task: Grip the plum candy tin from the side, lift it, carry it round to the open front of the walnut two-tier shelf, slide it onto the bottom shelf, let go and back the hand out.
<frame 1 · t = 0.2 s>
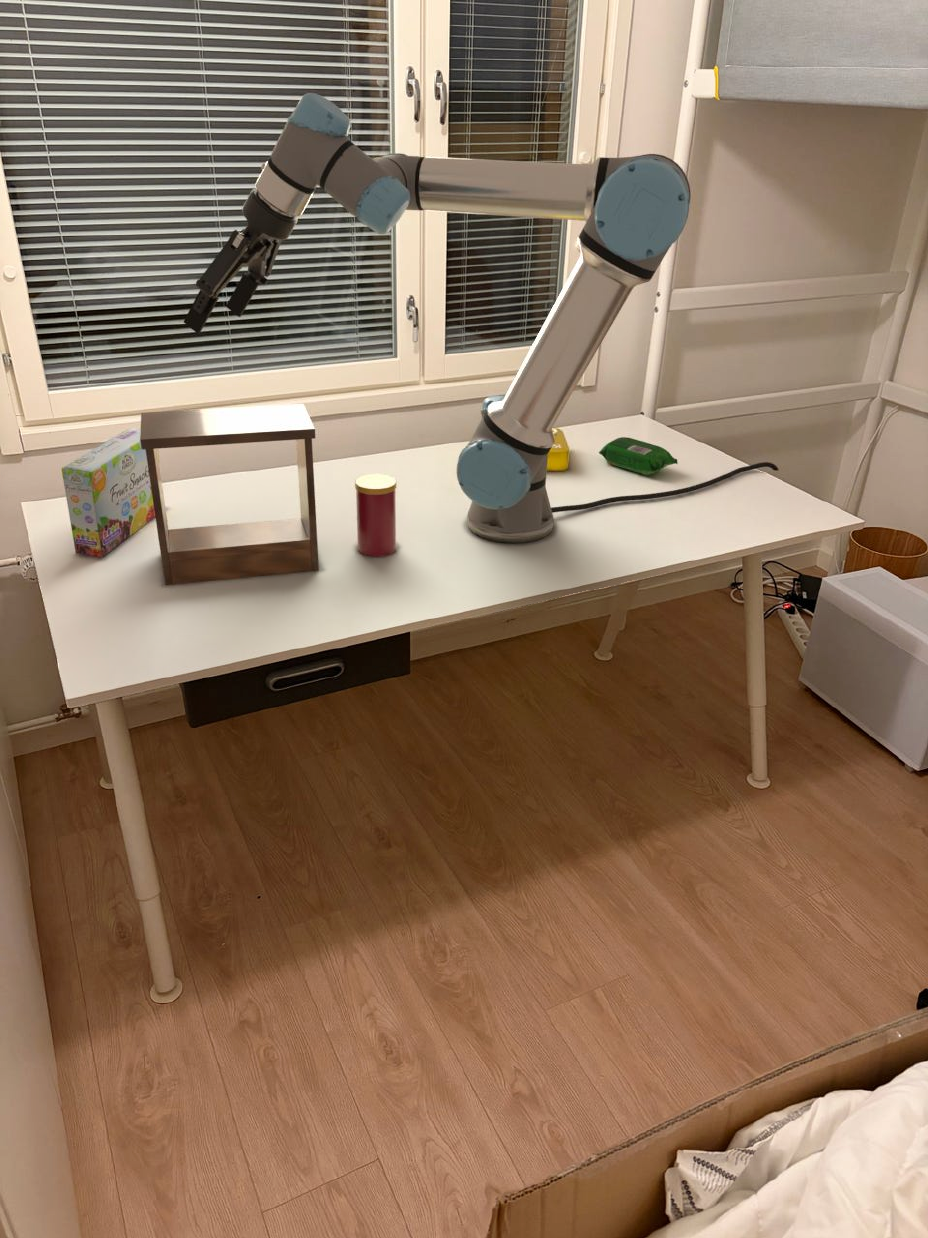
hand: (213, 319, 148), 35 cm above the table, tool tilted 35°, fingers open, 13 cm apart
shelf: (240, 561, 152), on the table
snack box: (123, 532, 161), on the table
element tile: (529, 459, 198), on the table
candy tin: (376, 548, 158), on the table
snack package: (636, 469, 195), on the table
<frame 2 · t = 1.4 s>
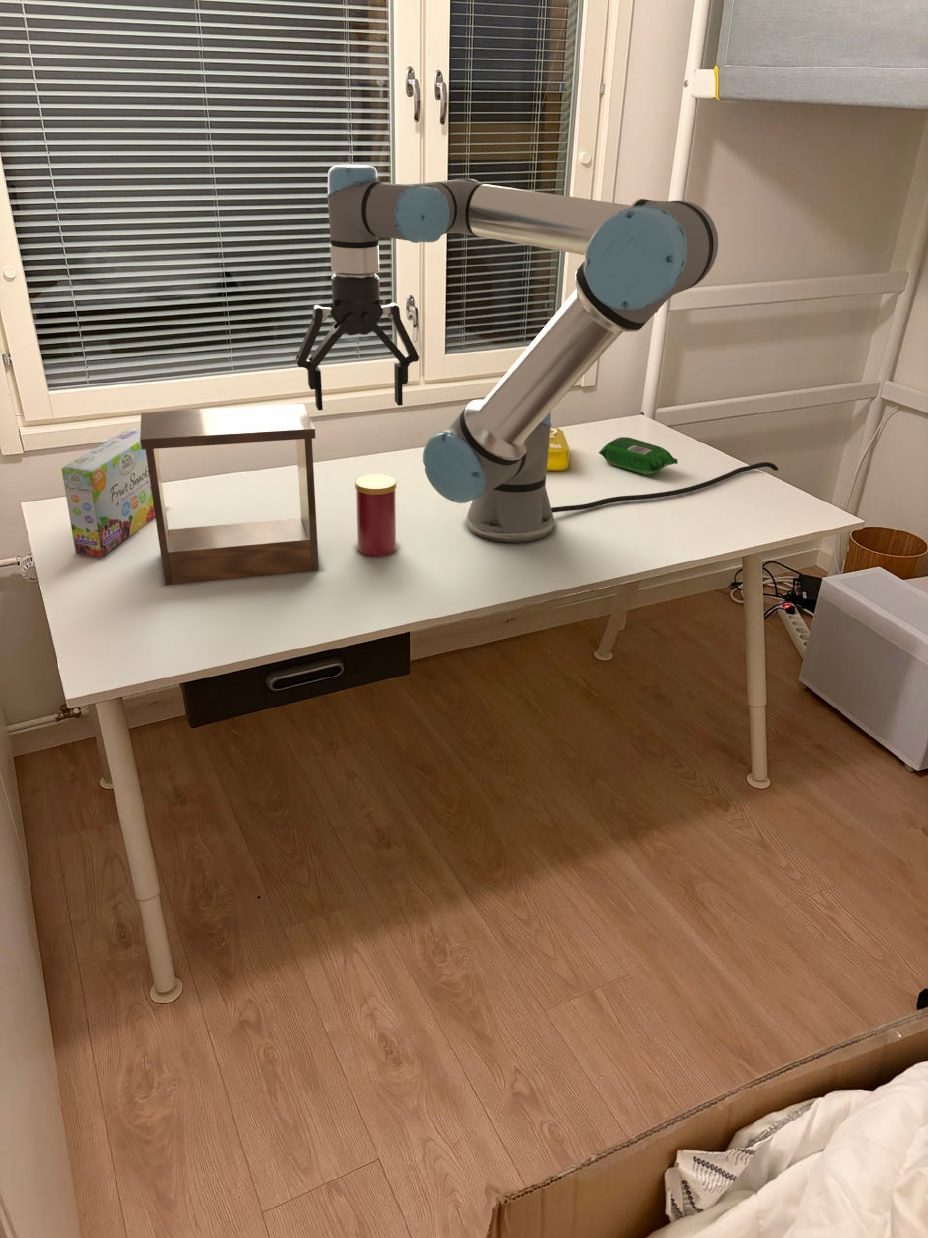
hand: (359, 405, 158), 21 cm above the table, tool pointing down, fingers open, 13 cm apart
nothing on the table moved.
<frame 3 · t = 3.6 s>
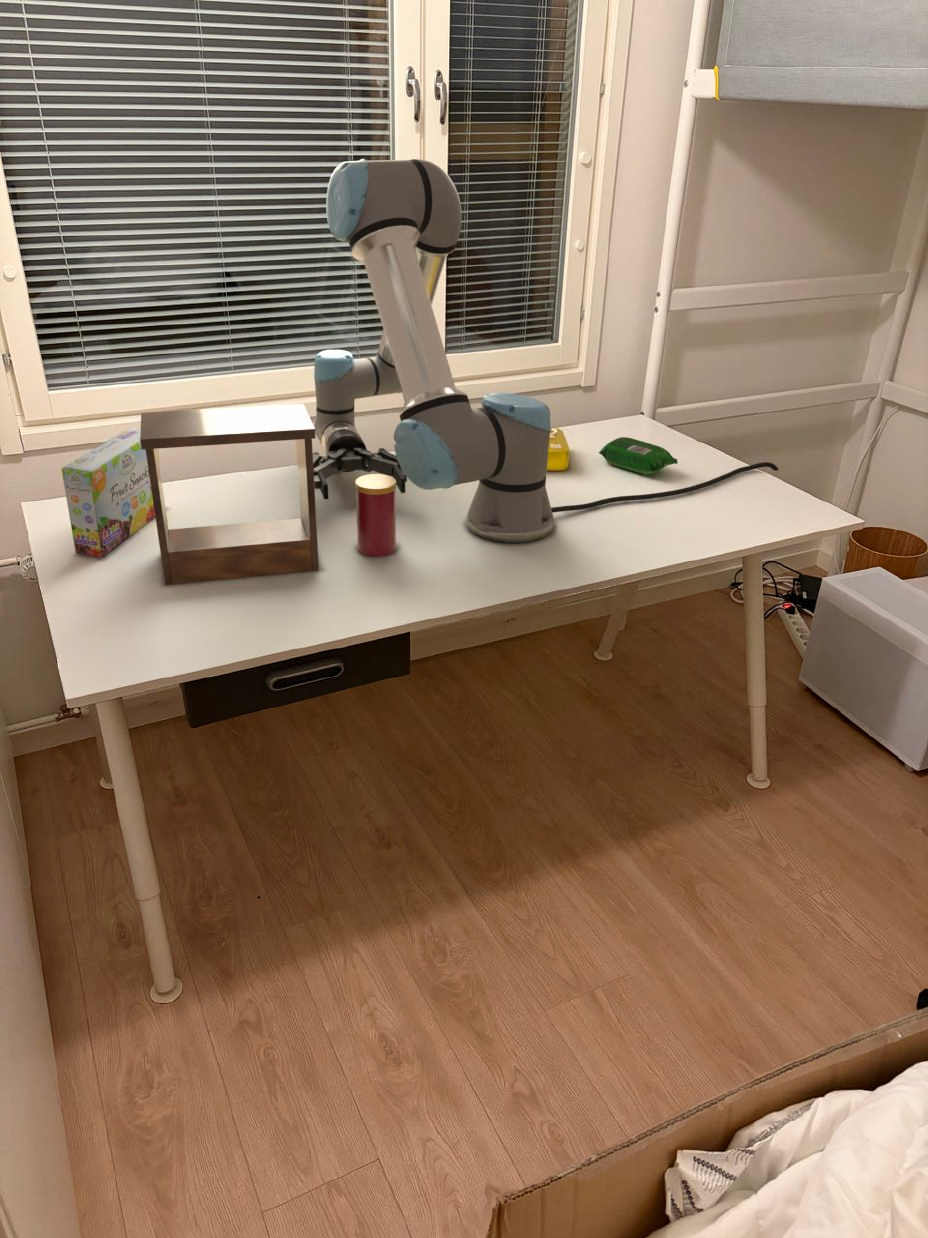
hand: (365, 488, 163), 7 cm above the table, tool horizontal, fingers open, 13 cm apart
nothing on the table moved.
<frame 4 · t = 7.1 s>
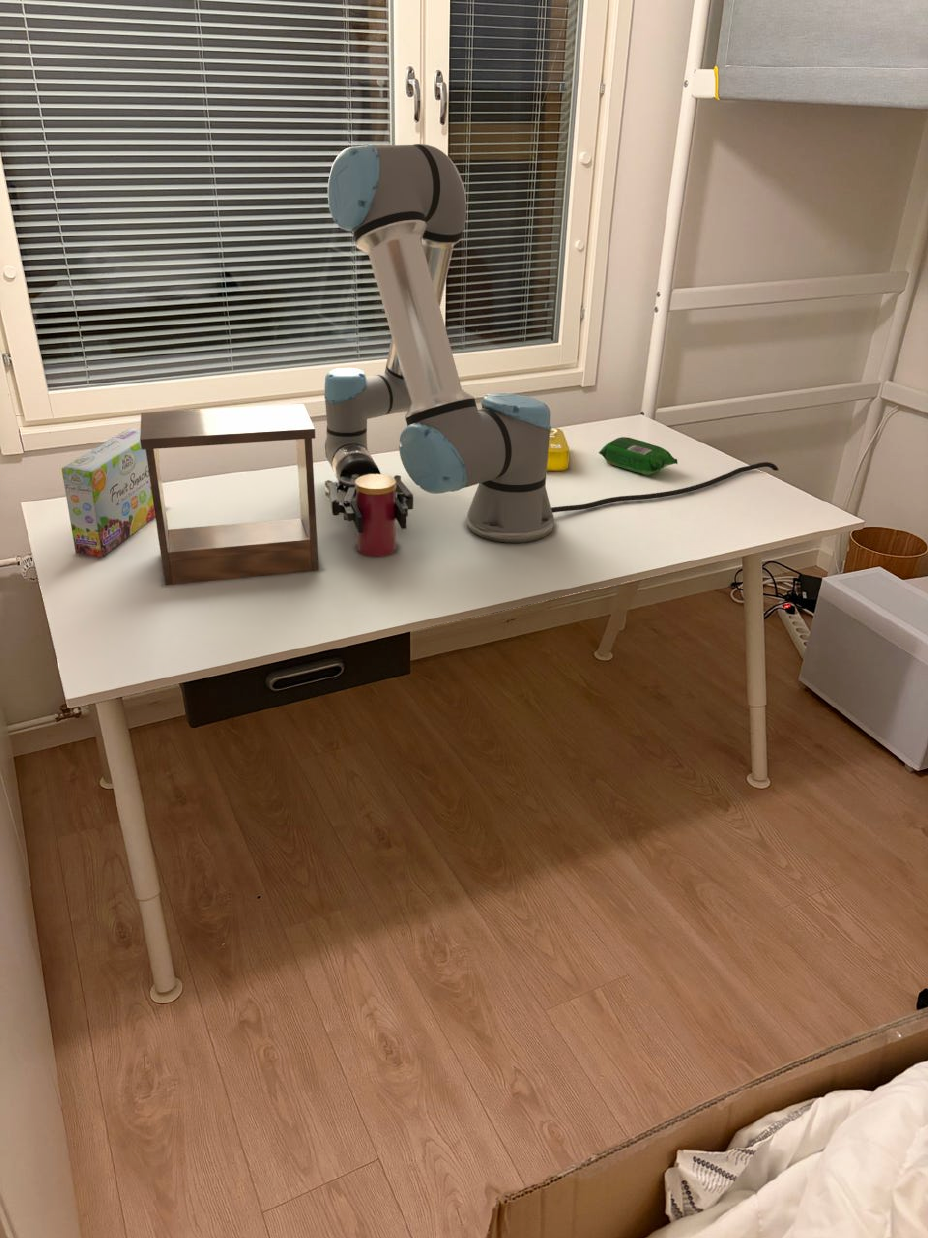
hand: (382, 523, 150), 7 cm above the table, tool horizontal, fingers closed on candy tin, 6 cm apart
candy tin: (376, 548, 158), on the table, touching gripper
everything else where it was.
when the fingers open (11 cm above the table, at t = 21.3 s): candy tin stays where it is, resting on shelf.
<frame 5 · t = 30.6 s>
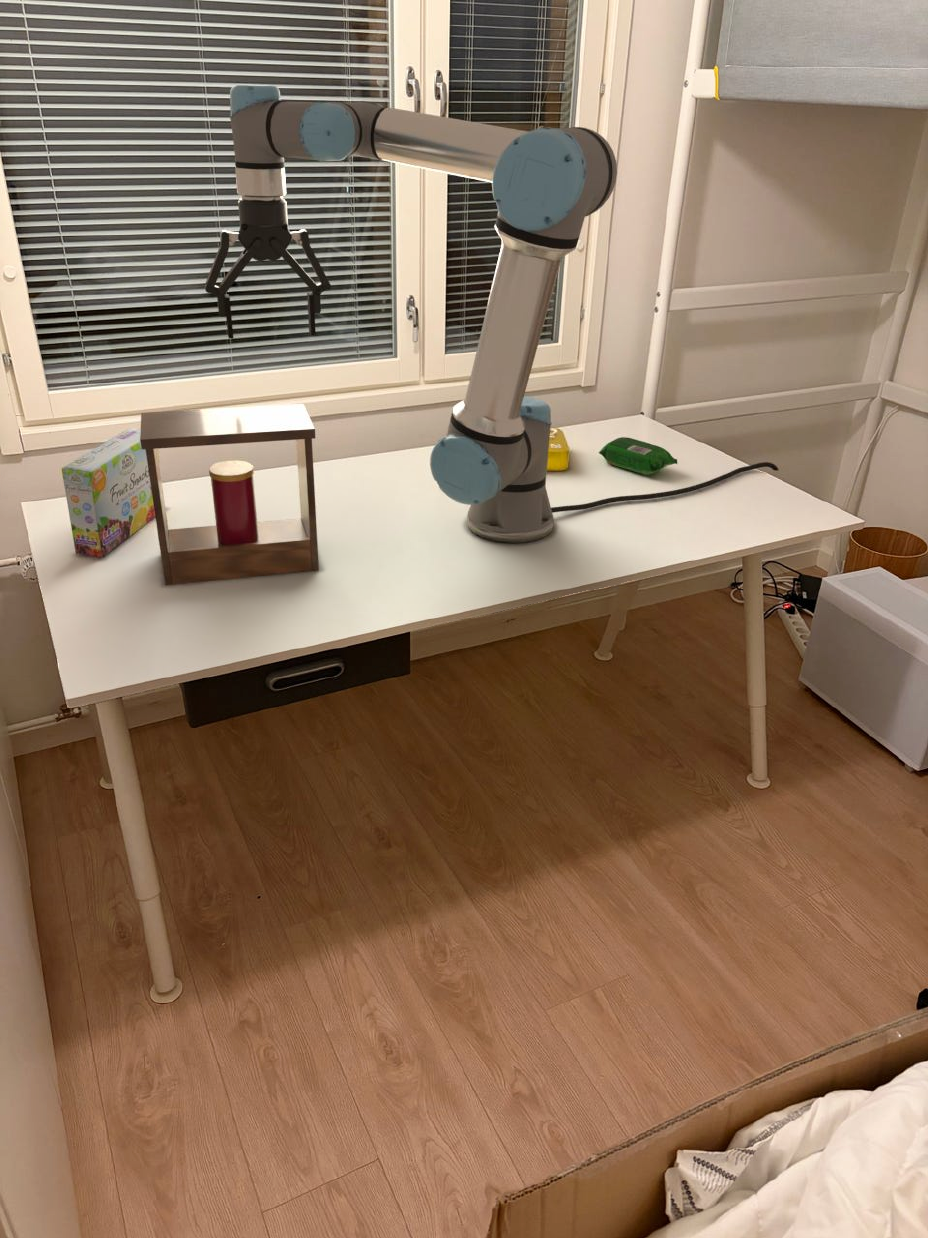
hand: (272, 335, 158), 31 cm above the table, tool pointing down, fingers open, 13 cm apart
candy tin: (238, 538, 150), point 4 cm above the table, touching shelf
everything else where it was.
at the end: candy tin inside the target area on the shelf (0.1 cm from its centre), point 4.0 cm above the shelf's base; candy tin tilted 0°; the gripper is holding nothing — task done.
